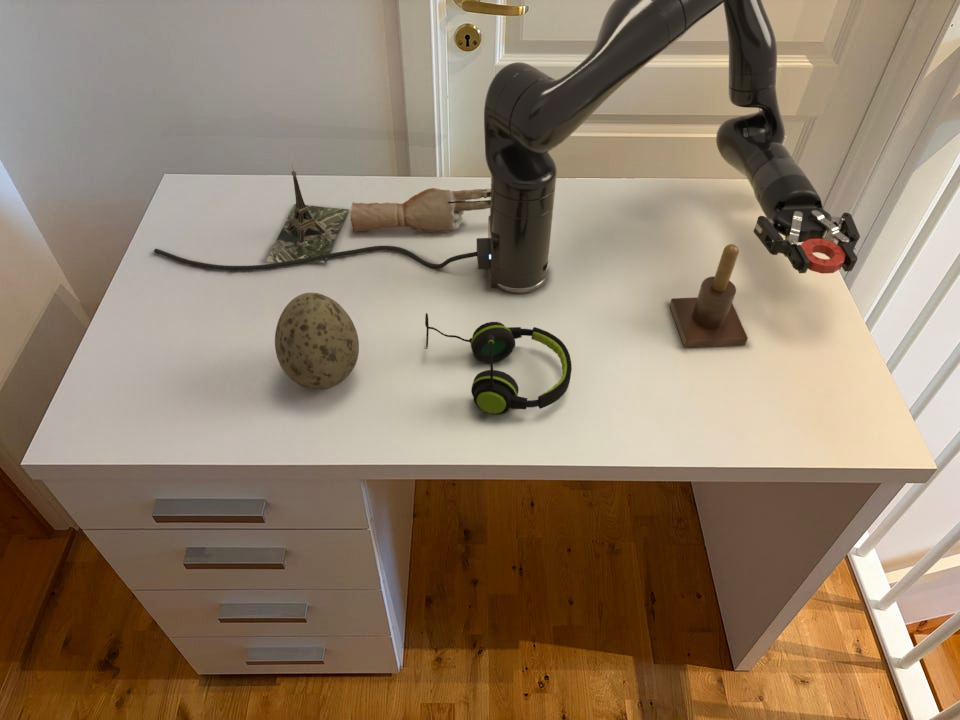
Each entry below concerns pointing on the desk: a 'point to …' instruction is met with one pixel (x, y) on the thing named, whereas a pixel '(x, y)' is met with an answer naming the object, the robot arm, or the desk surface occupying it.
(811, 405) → the desk surface
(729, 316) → the ring stand
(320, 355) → the decorative egg
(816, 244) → the ring
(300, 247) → the eiffel tower figurine
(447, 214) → the mannequin hand
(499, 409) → the headphones
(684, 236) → the desk surface
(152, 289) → the desk surface
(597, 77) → the robot arm
